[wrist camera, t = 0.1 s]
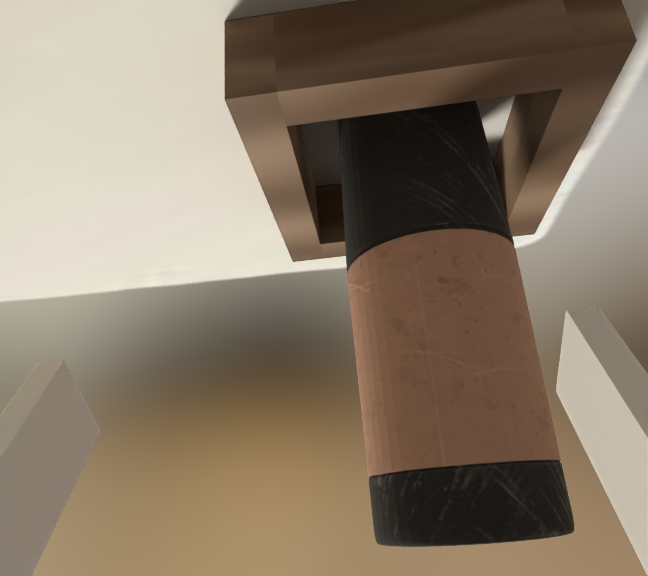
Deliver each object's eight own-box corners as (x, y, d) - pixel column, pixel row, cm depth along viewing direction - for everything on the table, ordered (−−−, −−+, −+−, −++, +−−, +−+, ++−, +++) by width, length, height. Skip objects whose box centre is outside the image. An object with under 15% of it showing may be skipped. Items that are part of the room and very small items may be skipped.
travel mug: (419, 33, 23) (512, 547, 16) (509, 109, 28) (612, 526, 21) (302, 125, 28) (331, 547, 21) (396, 175, 33) (447, 530, 26)
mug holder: (224, 21, 22) (224, 99, 20) (606, -38, 21) (636, 40, 19) (290, 207, 36) (293, 261, 34) (520, 178, 34) (534, 234, 33)
